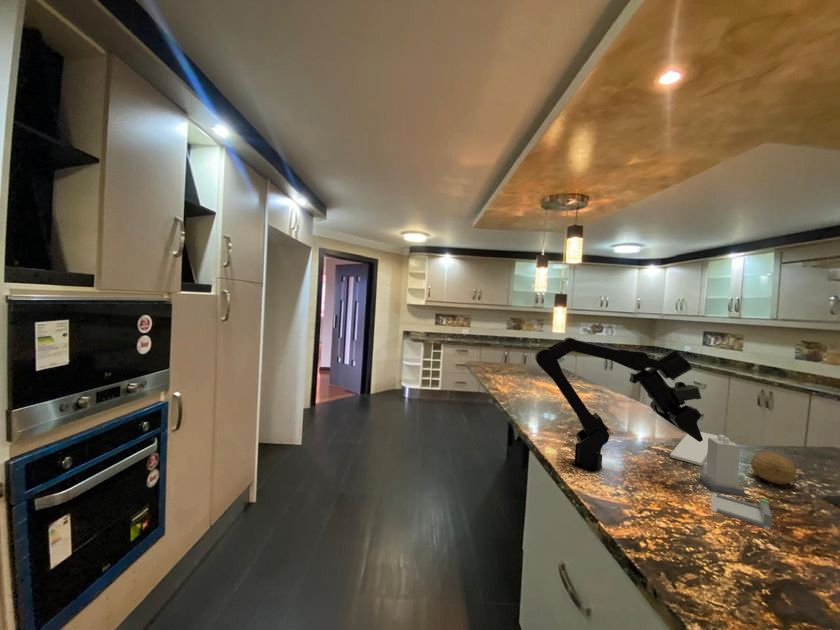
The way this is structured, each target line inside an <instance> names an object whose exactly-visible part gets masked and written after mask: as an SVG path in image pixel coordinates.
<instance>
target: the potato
mask: <svg viewBox="0 0 840 630" xmlns="http://www.w3.org/2000/svg"><path fill="white" fill-rule="evenodd" d="M750 465H751V469H752V471H753V472H754V473H755V475H757V476H758V477H760V478H762V479H764V480H765V481H767V482H769V483H773V484H777V485H784V484H789V483H792V482H793V481H794V479H795V477H796V476H797V468H796V466H795V465H794V463H793V462H792V461H790V460H789V459H788V458H786V457H784V456H782V455H780V454H779V453H776V452H771V451H761V452H758V453H757V454H755V455H754V456H753V458H752V459H751V460H750Z"/></svg>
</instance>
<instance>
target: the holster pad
mask: <svg viewBox="0 0 840 630" xmlns="http://www.w3.org/2000/svg"><path fill="white" fill-rule="evenodd" d="M693 478H694V479H696V480H697V482H699V483H700V484H701V485H702V486H703V487H704V488H705V489H706V490H708V491H709V492H711V493H716V494H721V495H729V496H735V497H740V498H748V499H751V497H750V496H749V495H748V494H746V493H745V492H744V495H737V494H731V493H725V492H719V491H713V490H712V489H710V488H709V487H708V486H707V485H706V484H705V483H703V482H702V481H701V480H700V477H695V476H694V477H693Z"/></svg>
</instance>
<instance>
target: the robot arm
mask: <svg viewBox="0 0 840 630" xmlns="http://www.w3.org/2000/svg"><path fill="white" fill-rule="evenodd" d="M571 352H576V353H580V354H583V355H587V356H592V357H596V358H600V359H604V360H608V361H612V362H613V363H614V362H615V363H616V364H618V365H621V366H624V367H625V368H628V369H630V370H633V371H637V373H633V372H631V373H630V377H629V380H628V381H629V383H632V384H636V383H639V384H640V386H641V387H642V388H643V389H644V390H645V392H646V393H647V397H648V398H649V399H650V400H652V401H651V402H650V405H649V407H650V408H651V410H652V411H653V412H654V413H655V414H657V415H658V416H660V417H661V418H662V419H664V420H666V421H667V422H668V423H670V424H671V425H673V426H675V427H676V428H677V429H679V430H680V431H681V432H683V433H686V435H687V434H689V435H690V436H691V437H693V438H694V439H696V440H697V441H699V442H701V441H703V438H702V436H701V433H700V432H701V431H700V428H699V426H698V422H699V420H700V419H701V417H702V414H701V413H700V411H699V410H698V408H695V407H694V406H691V405H685V404H686V402H687V401H692V400H701V399H702V396H701V393H700V392H701V391H700V388H699V387H698V386H696V385H694V384H686V383H684V382H682V381H677V382H675V384H674V387H671V386H670V385H668V383H667V382H666V380H667V379H670V380H671V381H674V380H675V379H677V378H679V377H681V376H683V375H684V374H686V373H688V372H689V371H691V370H693V368H692V365H691V364H690V362H689V361H688V360H687V359H686V358H684V357H683V356H682V355H681V354H679V353H678V352H677V350H673V349H672V350H670V351H668V352H667V353H665V354H664V355H663V356H660V357H659V358H657V359H656V358H653V357H649V356H648V354H647V353H646V352H644V351H641V350H636V349H629V348H628V349H627V348H613V347H608V346H604V345H599V344H596V343H595V344H594V343H591V342H588V341H587V342H586V341H583V340H578V339H576V338H573V337H566V338H564V339H563V340H561V341H560V342H557V343H555V344H552V345H550V346H549V347H547V348H546V347H543V348H540V349H538V350H537V351H535V355H534V359H535V361H536V363H537V365H538V366H539V367H540V369H541V370H543V371H544V372H545V374H547V376H549V377H550V378H551V379H552V381H553V382H554V383H555V384H556V386H557V389H559V391H560V392H561V394H562V395H563V397H564V398H565V400H566V401H567V403H568V404H569V405H570V407H571V408H572V410H573V411H574V413H575V415H576V416H577V418H578V421H579V423H580V425H581V428H582V429H580V431H578V432H577V433H576V434H575V436H576V440H577V443H575V446H574V447H575V450H574V451H575V452H574V461H573V462H571V465H572V466H573V467H577V468H580V469H582V470H584V471H587V472H590V473H595V472H597V471H599V470H601V469H603V465H602V464H603V454H602V448H603V446H604V445H605V444H607V443H608V441H609V440H610V433H609V430H610V429H609V427H608V426H607V425H606V424H605V423H604V421H603V420H602V417H601V416H600V415H599V414H598V413H597V412H594V413H591V412H590V410H588V408H587V407H586V405H585V403H584V402H583V400H582V399H581V397H580V396H579V395H578V393H577V392H576V390H575V389H574V387H573V386H572V384H571V383H570V382H569V380H568V378H567V376H566V375H565V374H564V372H563V371H562V370H563V369H562V368H561V365H560V363H559V361H558V360H560V359H562V358H563V357H565V356H566V355H568V354H569V353H571ZM647 369H648V370H647ZM665 379H666V380H665Z"/></svg>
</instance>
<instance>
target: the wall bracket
mask: <svg viewBox="0 0 840 630" xmlns="http://www.w3.org/2000/svg"><path fill="white" fill-rule="evenodd" d="M700 433H701V436H702V438H703V441H701V442H699V441H697V440H696V439H694V438H693V437H691V436H690V435H689V434H687V433H686V434H685V435H684V437H683V438H682V439H681V440H680V442H679V443H678V444H677V445H676V447H675V448H674V449H673V450H672V451H671V452H670V453H669V458H671V459H673V458H674V459H676V460H680V461H684V462H687V463H691V464H694V465H697V466H701V467H702V466H703V465H704V464H706V463H707V451H708V438H715V439H719V435H716V434H712V433H708V432H703V431H700Z"/></svg>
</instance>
